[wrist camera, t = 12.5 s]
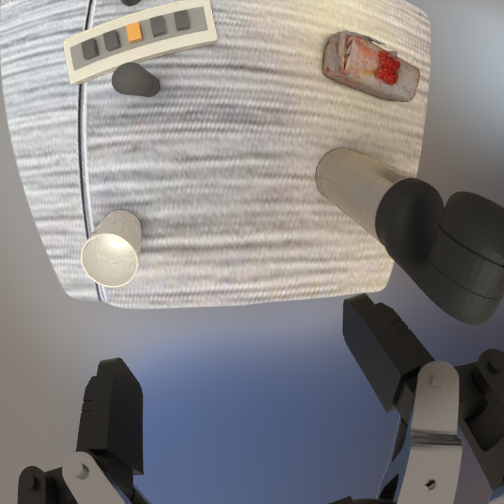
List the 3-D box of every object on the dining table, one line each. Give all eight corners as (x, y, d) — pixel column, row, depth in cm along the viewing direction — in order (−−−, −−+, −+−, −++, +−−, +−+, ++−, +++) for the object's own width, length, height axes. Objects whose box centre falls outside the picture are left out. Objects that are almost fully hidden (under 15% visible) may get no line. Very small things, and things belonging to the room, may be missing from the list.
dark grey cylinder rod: (157, 73, 34) (141, 57, 20) (162, 93, 35) (147, 88, 22) (136, 80, 34) (108, 68, 20) (141, 99, 35) (115, 98, 21)
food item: (313, 78, 38) (345, 75, 30) (323, 33, 35) (356, 21, 26) (385, 103, 42) (423, 109, 34) (393, 62, 39) (432, 62, 30)
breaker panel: (206, 2, 30) (210, -10, 25) (215, 43, 33) (219, 36, 29) (70, 43, 28) (56, 38, 23) (78, 85, 32) (64, 83, 27)
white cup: (134, 198, 42) (122, 224, 33) (153, 242, 46) (148, 277, 37) (90, 216, 41) (70, 245, 33) (111, 258, 45) (98, 294, 37)
